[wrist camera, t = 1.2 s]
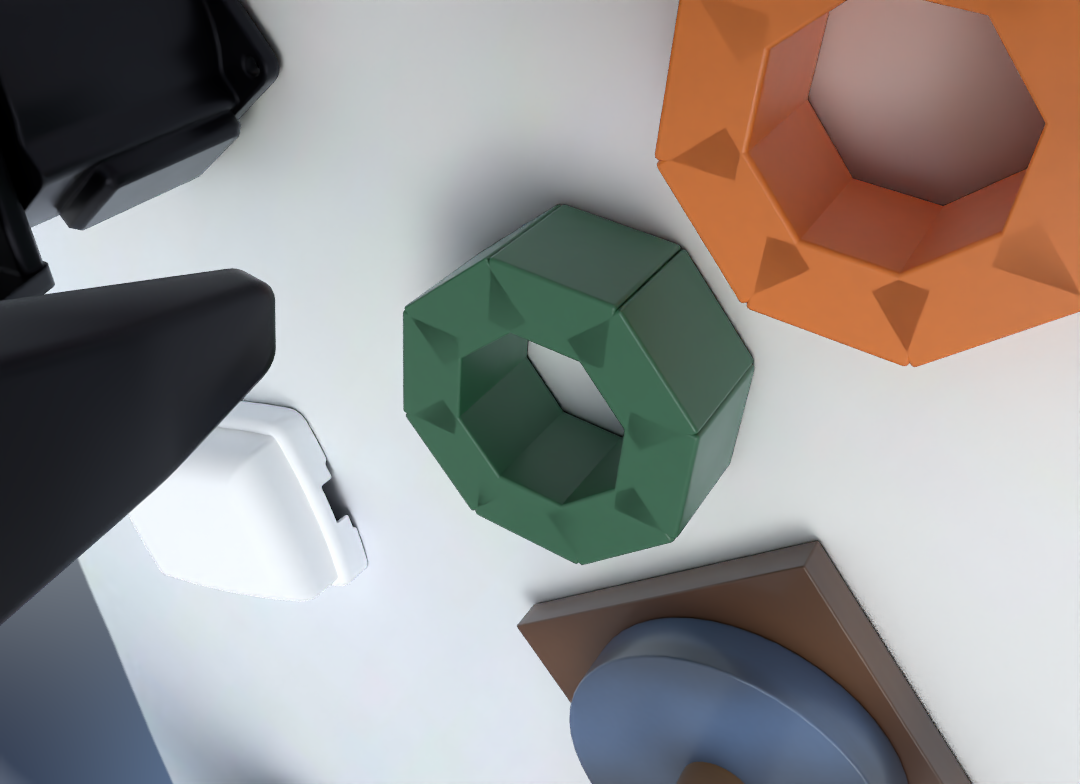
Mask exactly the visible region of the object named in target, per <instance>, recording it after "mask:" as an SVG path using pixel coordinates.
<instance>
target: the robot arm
mask: <svg viewBox="0 0 1080 784" xmlns="http://www.w3.org/2000/svg"><path fill="white" fill-rule="evenodd" d="M256 61H257V63H258V65H259V68H258V66H257V64H256ZM278 73H279V66H278V61H277V58H276V56H275V54H274V52H273V51H272V49H271V48H270V46H269V45H268V43H267V42H266V40H265V39H264V37H263V36H262V34H261V33H260V31H259V30H258V28H257V27H256V25H255V24H254V22H253V21H252V19H251V18H250V16H249V15H248V14H247V12H246V11H245V9H244V8H243V6H242V5H241V3H240V2H239V0H0V625H1V624H3V623H4V622H5V621H6V620H7V619H8V618H9V617H11V616H12V615H13V614H14V613H15V612H16V611H17V610H19V609H20V608H21V607H22V606H23V605H24V604H25V603H27V602H28V601H29V600H30V599H31V598H32V597H34V595H36V594H37V593H38V592H39V591H40V590H41V589H43V588H44V587H45V586H46V585H47V584H48V583H50V582H51V581H52V580H53V579H54V578H55V577H56V576H58V575H59V574H60V573H61V572H62V571H63V570H64V569H65V568H67V567H68V566H69V565H70V564H71V563H72V562H74V561H75V560H76V559H77V558H78V557H79V556H80V555H82V554H83V553H84V552H85V551H86V550H87V549H88V548H90V547H91V546H92V545H93V544H94V543H95V542H96V541H98V540H99V539H100V538H101V537H102V536H103V535H105V534H106V533H107V532H108V531H109V530H110V529H111V528H113V527H114V526H115V525H116V524H117V523H118V522H119V521H121V520H122V519H123V518H124V517H125V516H126V515H127V514H129V513H130V512H131V511H132V510H133V509H134V508H135V507H137V506H138V505H139V504H140V503H141V502H142V501H143V500H145V499H146V498H147V497H148V496H149V495H150V494H151V493H152V492H154V491H155V490H156V489H157V488H158V487H159V486H160V485H161V484H162V483H163V482H164V481H165V480H167V479H168V478H169V477H170V476H171V475H172V474H173V473H174V472H175V471H176V470H177V469H178V468H179V467H180V465H181V464H182V463H183V462H184V461H185V460H186V459H187V458H188V457H189V456H190V455H191V454H192V453H193V452H194V451H195V450H196V449H197V447H198V446H199V445H200V444H201V443H202V442H203V441H204V440H205V439H206V438H207V437H208V436H209V435H210V433H211V432H212V431H213V430H214V429H215V428H216V427H217V426H218V425H219V424H220V423H221V422H222V421H223V419H224V418H225V417H226V416H227V415H228V414H229V413H230V412H231V411H232V410H233V409H234V408H235V407H236V406H237V404H238V403H239V402H240V401H241V400H242V399H243V398H244V397H245V396H246V395H247V394H248V393H249V392H250V390H251V389H252V388H253V387H254V386H255V385H256V384H257V383H258V382H259V381H260V380H261V379H262V378H263V376H264V375H265V374H266V373H267V371H268V370H269V368H270V366H271V364H272V362H273V360H274V356H275V350H276V339H275V297H274V293H273V291H272V289H271V287H270V286H269V285H268V284H266V283H265V282H263V281H261V280H259V279H257V278H255V277H254V276H252V275H250V274H248V273H246V272H244V271H242V270H239V269H233V268H232V269H223V270H216V271H209V272H202V273H194V274H187V275H180V276H173V277H166V278H159V279H152V280H145V281H137V282H130V283H123V284H116V285H109V286H102V287H95V288H87V289H80V290H73V291H66V292H59V293H52V294H45V293H46V292H48V291H49V290H50V289H51V288H52V287H53V286H54V285H55V283H54V280H53V277H52V274H51V271H50V269H49V266H48V263H47V262H44V261H42V258H41V255H40V253H39V250H38V247H37V244H36V242H35V239H34V236H33V233H32V230H31V227H33V226H36V225H38V224H40V223H42V222H45V221H47V220H49V219H51V218H54V217H56V216H58V215H60V216H61V217H62V219H63V220H64V221H65V223H66V224H67V225H68V227H69V228H73V229H78V230H85V229H87V228H89V227H91V226H94V225H96V224H98V223H100V222H102V221H104V220H106V219H109V218H111V217H113V216H115V215H117V214H119V213H122V212H124V211H126V210H128V209H130V208H132V207H134V206H137V205H139V204H141V203H143V202H145V201H147V200H150V199H152V198H154V197H156V196H158V195H160V194H163V193H165V192H167V191H169V190H171V189H173V188H175V187H178V186H180V185H182V184H184V183H186V182H188V181H191V180H193V179H195V178H197V177H199V176H200V175H201V174H202V173H203V172H204V171H205V170H206V169H207V168H208V167H209V166H210V165H211V164H212V163H213V162H214V161H215V160H216V159H217V158H218V157H219V156H220V155H221V154H222V153H223V152H224V151H225V150H226V149H227V148H228V147H229V146H230V145H231V144H232V143H233V141H234V140H235V139H236V138H237V137H238V136H239V133H240V128H241V124H240V122H239V121H238V119H239V118H240V117H241V116H242V115H243V114H244V113H245V112H246V111H247V110H248V109H249V108H250V106H251V105H252V104H253V103H254V102H255V101H256V100H257V99H258V98H259V97H260V96H261V95H262V94H263V93H264V92H265V91H266V90H267V89H268V88H269V87H270V85H271V84H272V83H273V82H274V81H275V80H276V78H277V77H278ZM44 294H45V295H44Z"/></svg>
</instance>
